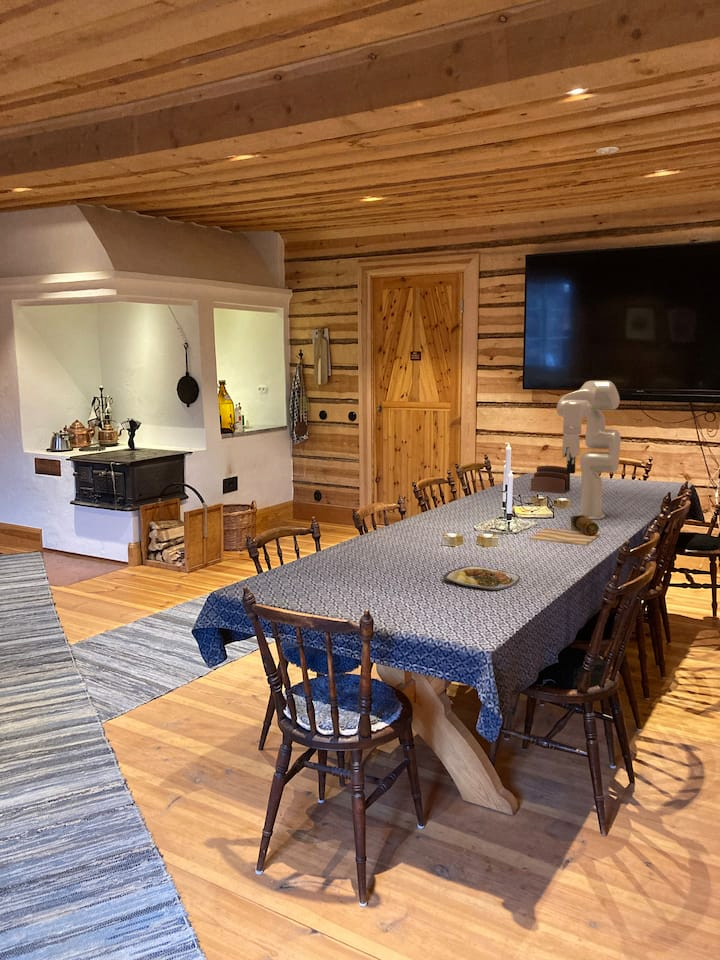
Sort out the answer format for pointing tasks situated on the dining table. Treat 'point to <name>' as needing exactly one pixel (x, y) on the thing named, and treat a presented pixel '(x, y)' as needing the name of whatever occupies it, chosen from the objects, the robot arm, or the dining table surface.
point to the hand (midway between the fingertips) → (570, 473)
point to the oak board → (564, 536)
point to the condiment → (583, 524)
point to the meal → (481, 577)
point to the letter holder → (551, 479)
